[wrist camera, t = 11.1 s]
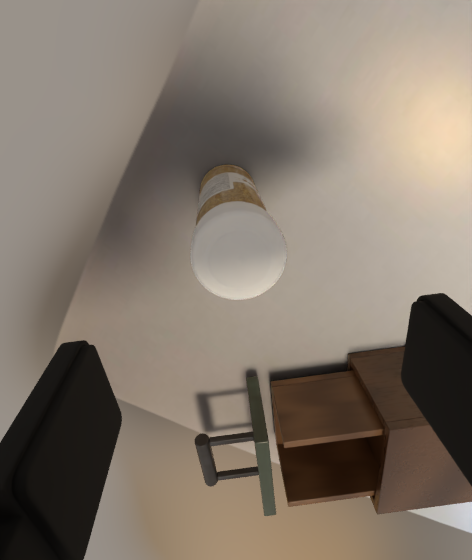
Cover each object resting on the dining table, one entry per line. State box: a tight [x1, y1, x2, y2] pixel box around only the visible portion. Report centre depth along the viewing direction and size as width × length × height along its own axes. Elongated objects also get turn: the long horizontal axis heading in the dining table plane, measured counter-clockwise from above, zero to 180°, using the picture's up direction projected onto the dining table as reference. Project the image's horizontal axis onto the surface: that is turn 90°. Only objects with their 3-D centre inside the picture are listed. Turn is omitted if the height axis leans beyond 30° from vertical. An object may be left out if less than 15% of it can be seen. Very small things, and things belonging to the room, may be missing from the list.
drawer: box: [195, 370, 385, 516], centre depth 35 cm, size 19×11×8 cm, turn 96°
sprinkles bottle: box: [190, 165, 287, 300], centre depth 21 cm, size 5×5×13 cm
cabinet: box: [347, 346, 472, 514], centre depth 35 cm, size 15×13×10 cm
